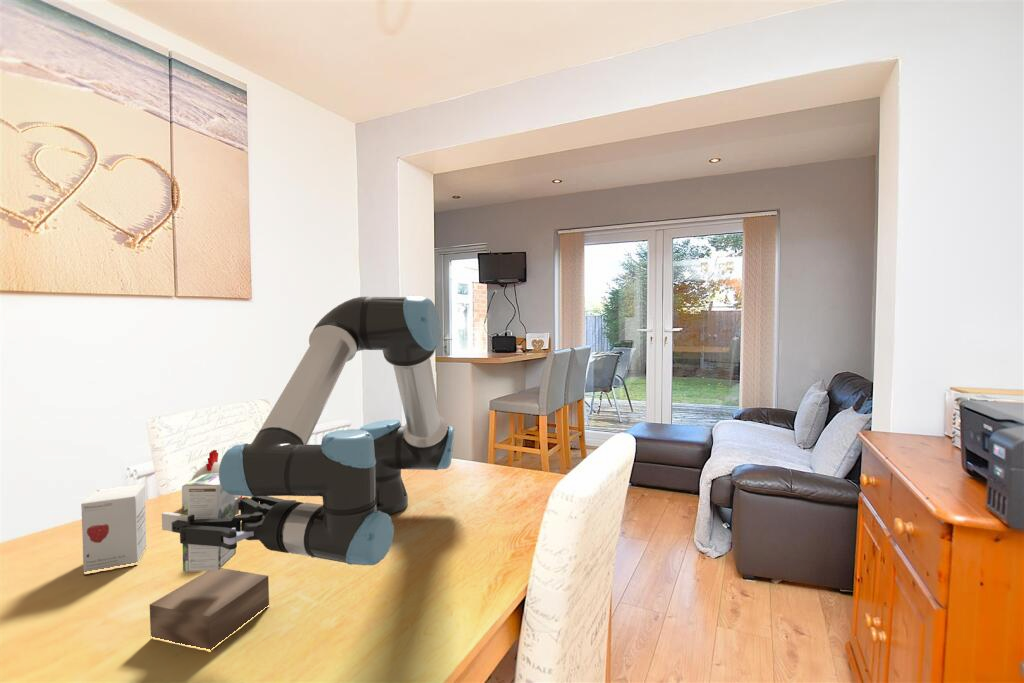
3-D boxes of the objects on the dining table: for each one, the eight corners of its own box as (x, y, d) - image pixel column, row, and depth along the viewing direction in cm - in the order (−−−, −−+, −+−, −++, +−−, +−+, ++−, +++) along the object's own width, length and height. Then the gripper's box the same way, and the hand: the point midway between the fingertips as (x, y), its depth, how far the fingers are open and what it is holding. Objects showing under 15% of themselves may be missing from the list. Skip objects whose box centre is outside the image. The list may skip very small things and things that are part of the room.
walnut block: (150, 640, 76) (149, 604, 75) (215, 598, 87) (214, 566, 87) (210, 654, 73) (209, 616, 72) (269, 608, 84) (268, 575, 84)
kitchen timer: (247, 493, 140) (245, 443, 140) (235, 510, 127) (234, 456, 127) (193, 498, 136) (191, 447, 135) (175, 517, 123) (173, 461, 122)
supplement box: (81, 577, 94) (78, 503, 94) (96, 557, 102) (93, 489, 102) (138, 566, 98) (135, 495, 98) (148, 547, 106) (145, 482, 106)
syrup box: (202, 555, 82) (199, 473, 81) (237, 554, 82) (235, 472, 82) (182, 572, 76) (179, 484, 76) (220, 571, 77) (217, 483, 76)
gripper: (245, 585, 64) (124, 561, 71) (339, 524, 84) (237, 510, 90) (243, 531, 64) (123, 512, 71) (338, 483, 83) (236, 471, 90)
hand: (187, 511), depth 80 cm, fingers closed on syrup box, 7 cm apart
